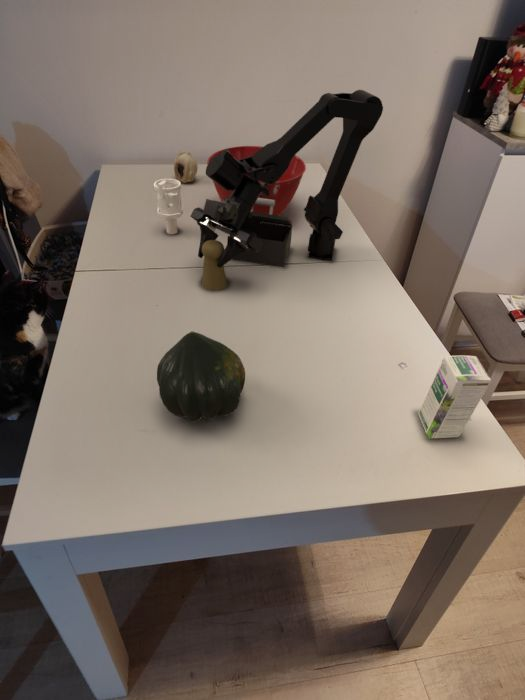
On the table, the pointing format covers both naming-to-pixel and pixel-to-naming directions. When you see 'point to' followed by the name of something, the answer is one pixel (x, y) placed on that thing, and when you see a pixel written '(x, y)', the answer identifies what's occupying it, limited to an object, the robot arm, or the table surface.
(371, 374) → the table surface
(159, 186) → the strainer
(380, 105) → the robot arm
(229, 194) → the mixing bowl
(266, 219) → the lid
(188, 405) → the squash
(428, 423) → the syrup box
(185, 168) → the beige rounded hollow piece
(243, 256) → the open black tray
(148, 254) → the table surface
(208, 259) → the peg doll
